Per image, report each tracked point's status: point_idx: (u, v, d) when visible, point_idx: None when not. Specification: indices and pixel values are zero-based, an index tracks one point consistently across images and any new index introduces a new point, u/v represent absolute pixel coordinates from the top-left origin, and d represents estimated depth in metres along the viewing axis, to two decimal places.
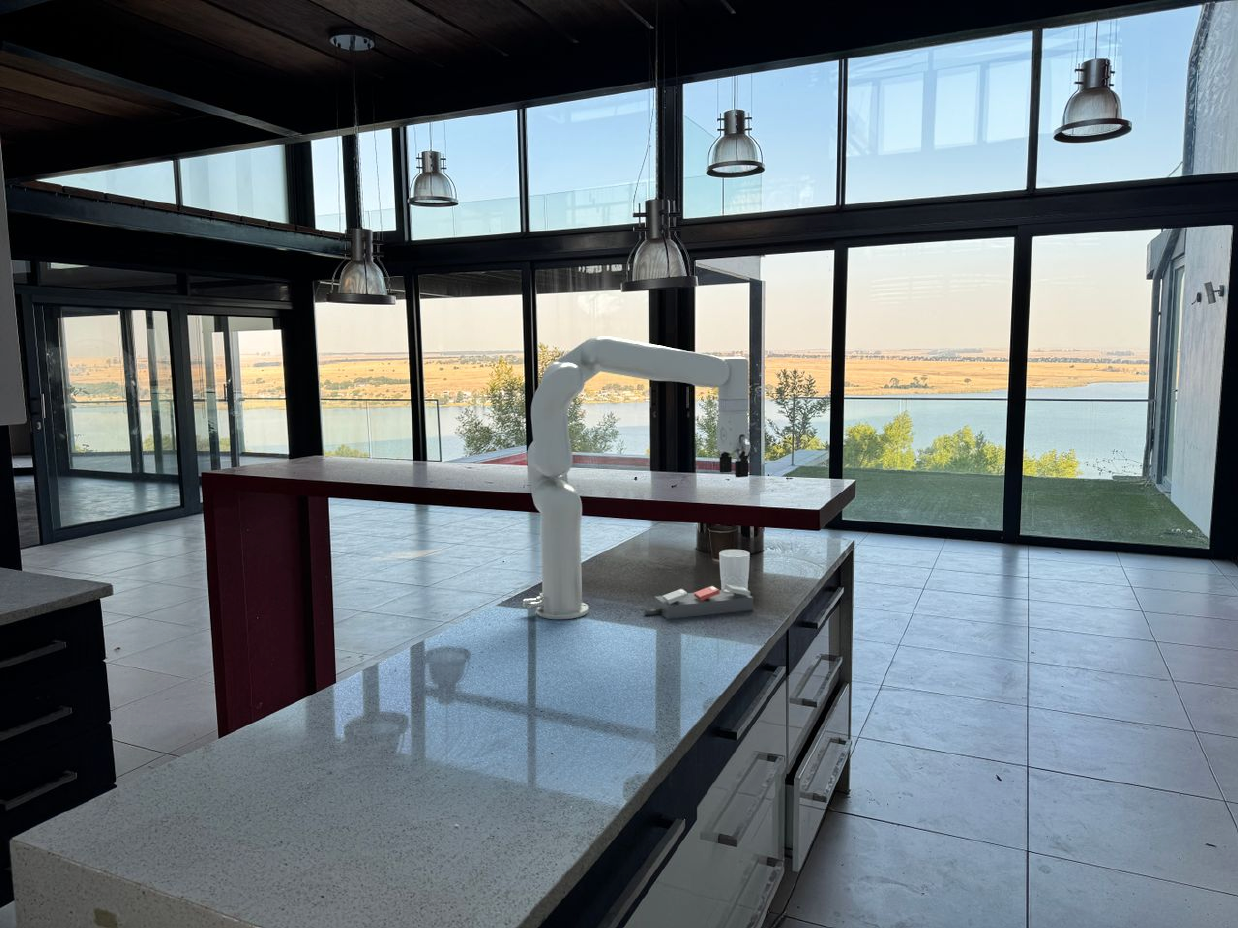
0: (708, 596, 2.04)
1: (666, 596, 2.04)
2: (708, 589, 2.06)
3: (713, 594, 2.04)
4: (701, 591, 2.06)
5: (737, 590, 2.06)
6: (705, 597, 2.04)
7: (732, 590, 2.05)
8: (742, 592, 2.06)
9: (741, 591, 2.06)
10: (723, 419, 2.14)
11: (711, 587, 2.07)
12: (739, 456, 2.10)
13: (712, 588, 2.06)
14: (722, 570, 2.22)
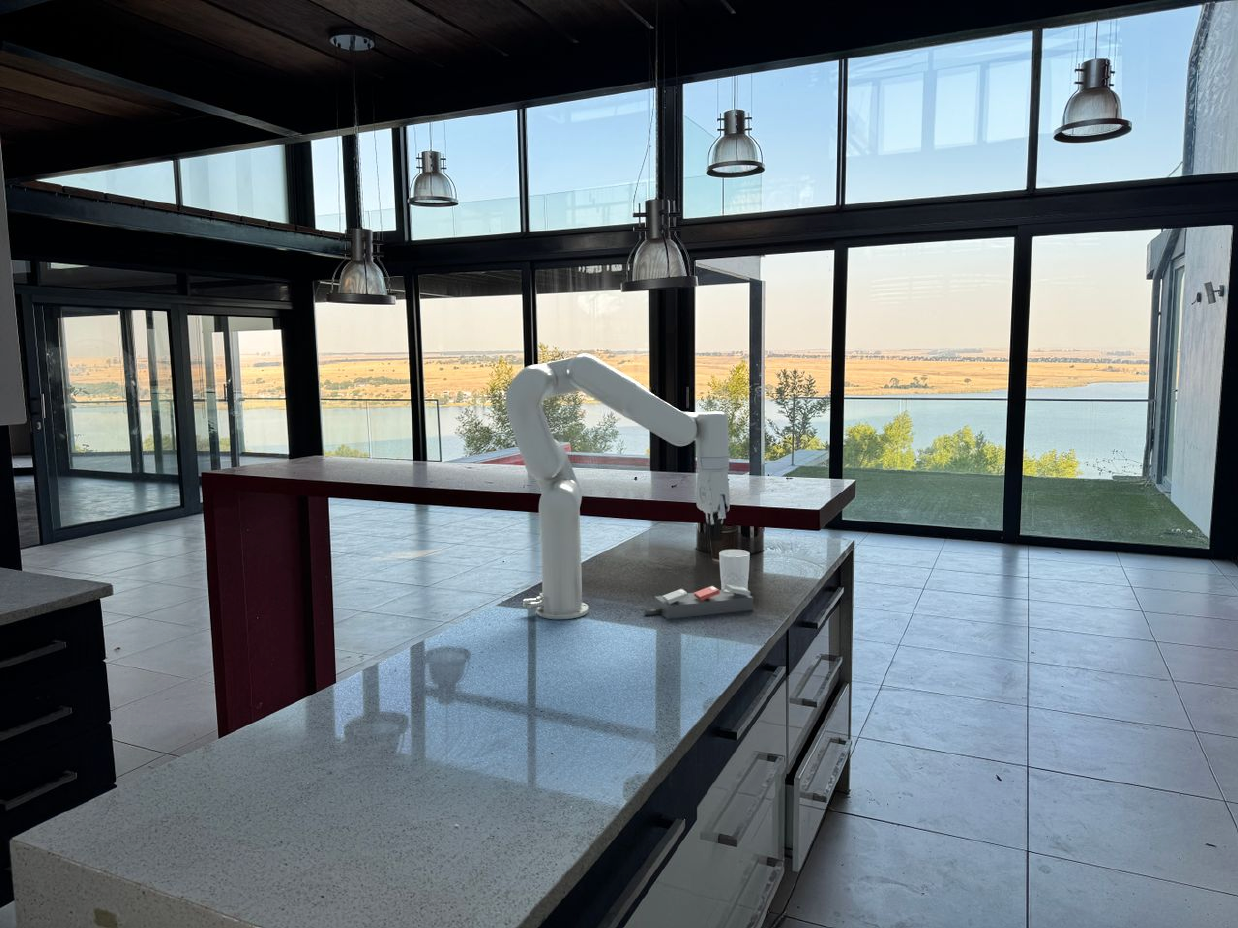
0: (708, 596, 2.04)
1: (666, 596, 2.04)
2: (708, 589, 2.06)
3: (713, 594, 2.04)
4: (701, 591, 2.06)
5: (737, 590, 2.06)
6: (705, 597, 2.04)
7: (732, 590, 2.05)
8: (742, 592, 2.06)
9: (741, 591, 2.06)
10: (702, 477, 2.02)
11: (711, 587, 2.07)
12: (713, 521, 2.02)
13: (712, 588, 2.06)
14: (722, 570, 2.22)
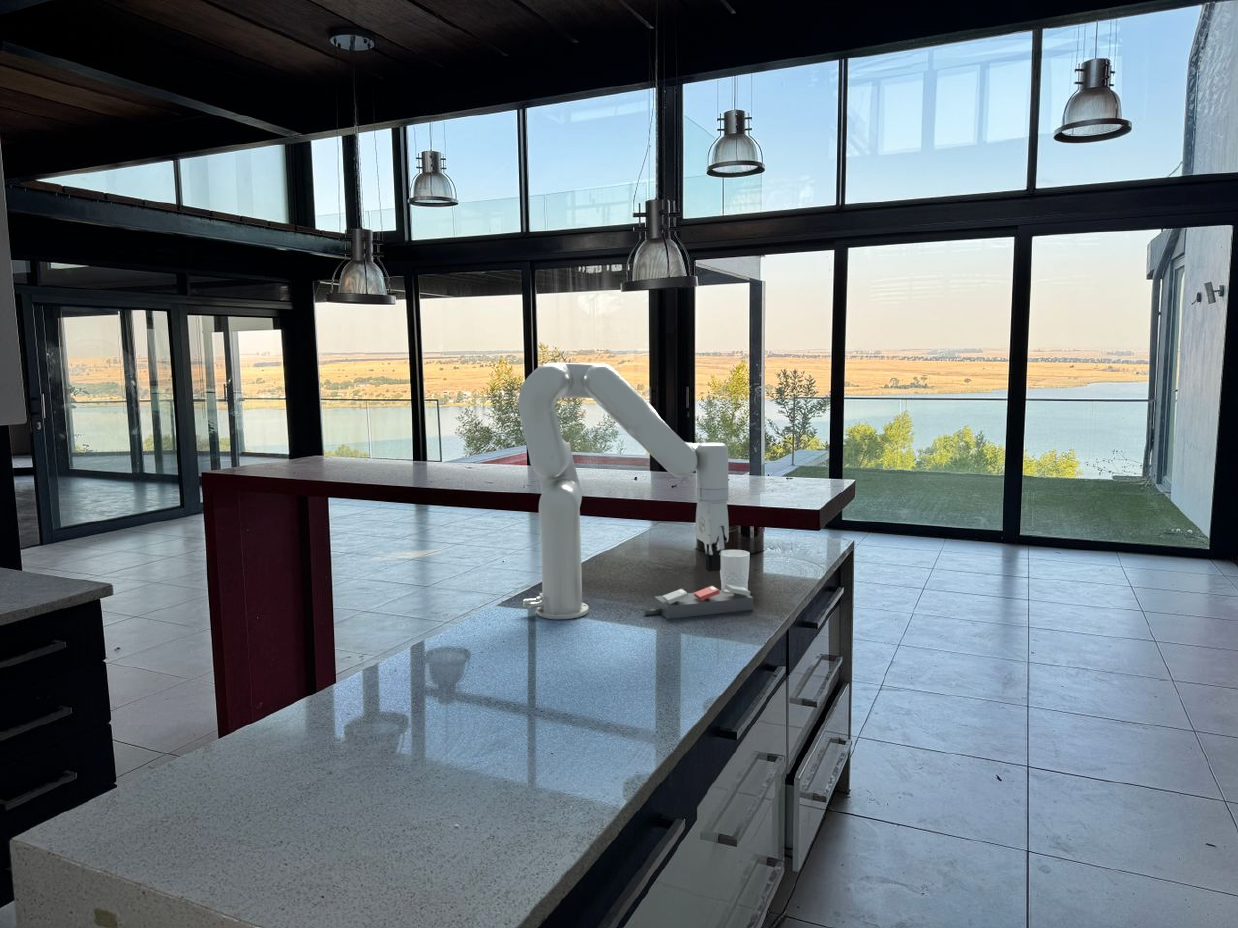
0: (708, 596, 2.04)
1: (666, 596, 2.04)
2: (708, 589, 2.06)
3: (713, 594, 2.04)
4: (701, 591, 2.06)
5: (737, 590, 2.06)
6: (705, 597, 2.04)
7: (732, 590, 2.05)
8: (742, 592, 2.06)
9: (741, 591, 2.06)
10: (701, 508, 2.03)
11: (711, 587, 2.07)
12: (712, 552, 2.03)
13: (712, 588, 2.06)
14: (722, 570, 2.22)
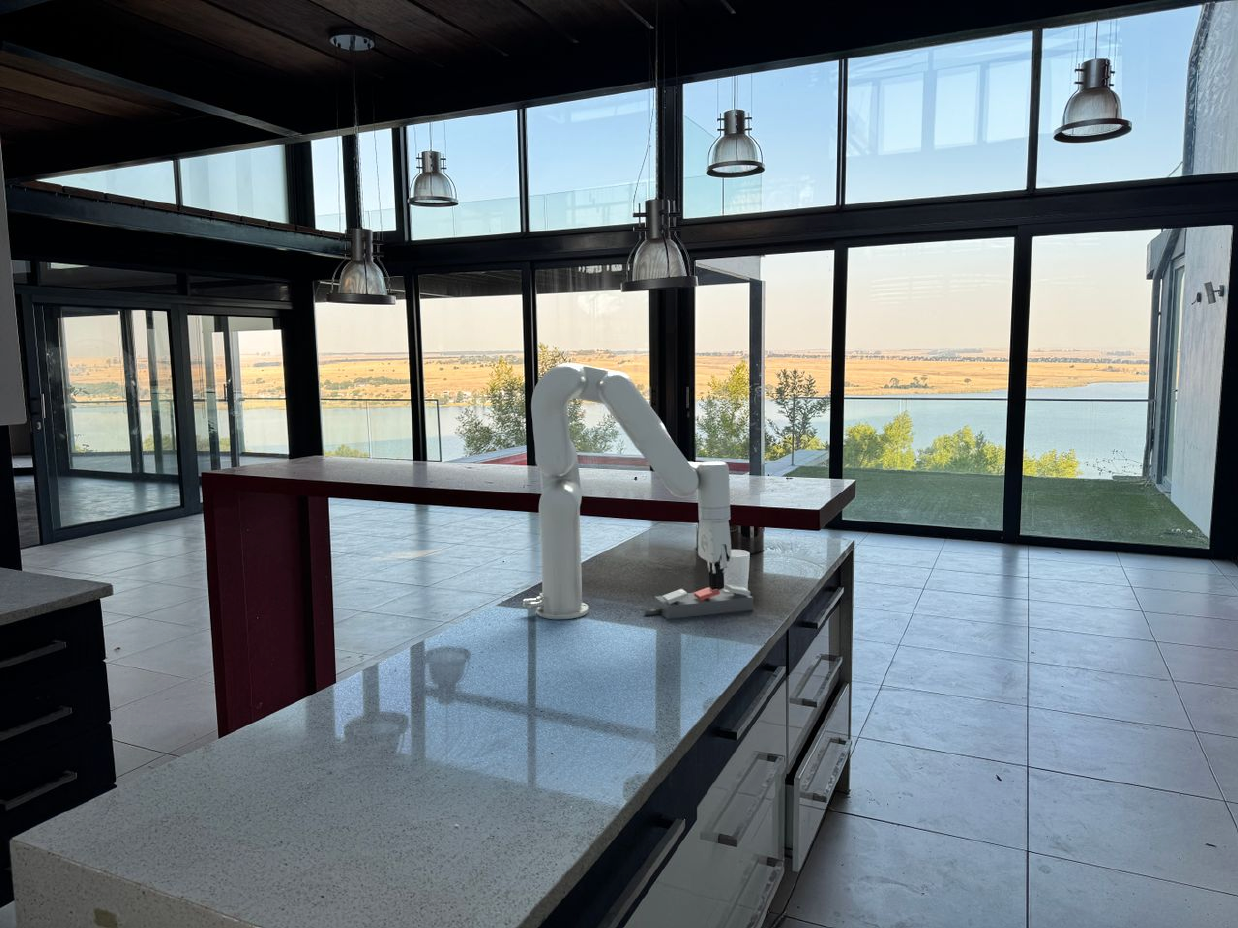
0: (708, 596, 2.04)
1: (666, 596, 2.04)
2: (708, 589, 2.06)
3: (713, 594, 2.04)
4: (701, 591, 2.06)
5: (737, 590, 2.06)
6: (705, 597, 2.04)
7: (732, 590, 2.05)
8: (742, 592, 2.06)
9: (741, 591, 2.06)
10: (703, 527, 2.04)
11: None
12: (715, 571, 2.04)
13: None
14: None
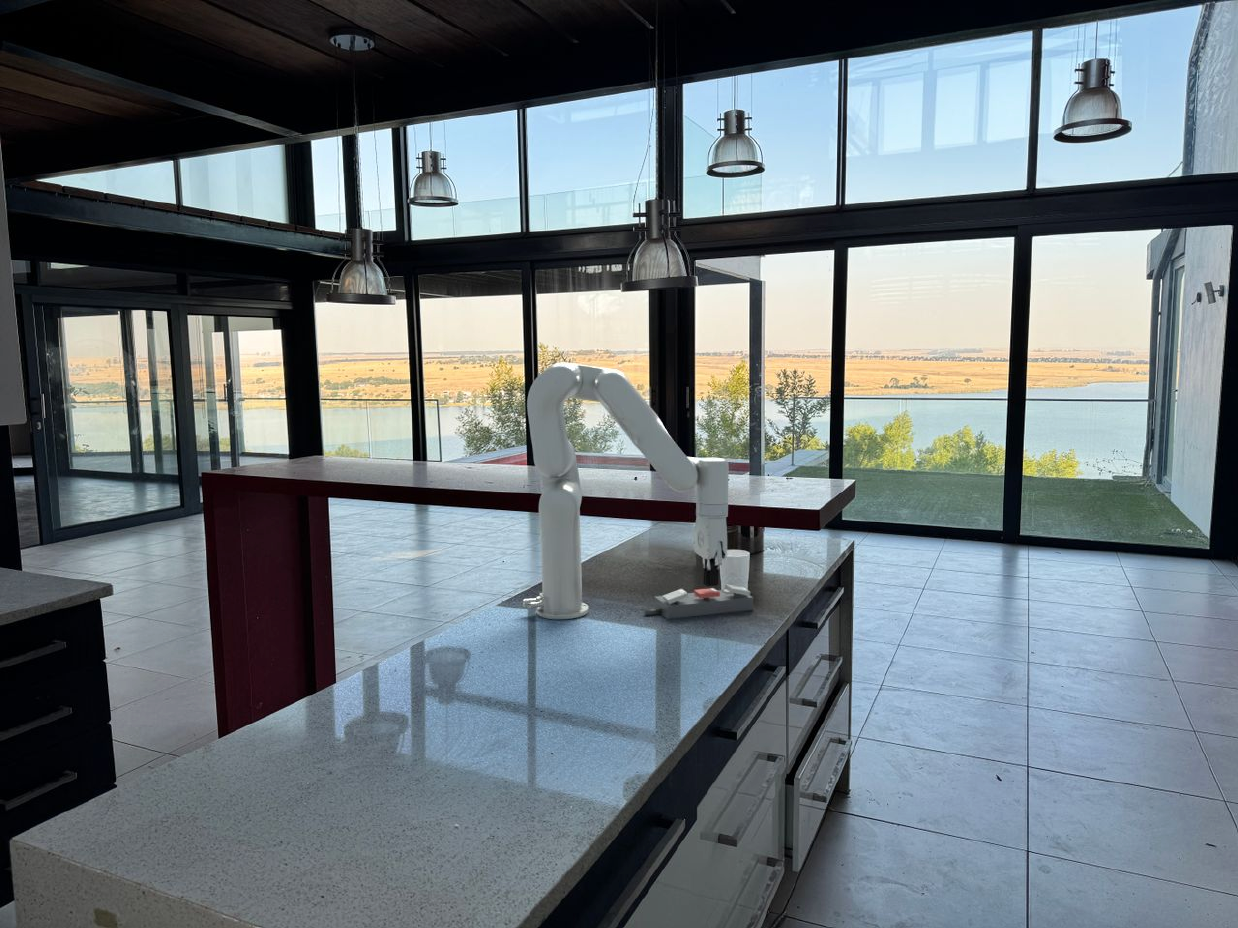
0: (708, 596, 2.04)
1: (666, 596, 2.04)
2: (709, 590, 2.06)
3: (713, 595, 2.04)
4: (701, 590, 2.06)
5: (737, 590, 2.06)
6: (705, 596, 2.03)
7: (732, 590, 2.05)
8: (742, 592, 2.06)
9: (741, 591, 2.06)
10: (700, 523, 2.03)
11: (712, 589, 2.07)
12: (710, 567, 2.03)
13: (713, 590, 2.06)
14: (722, 570, 2.22)
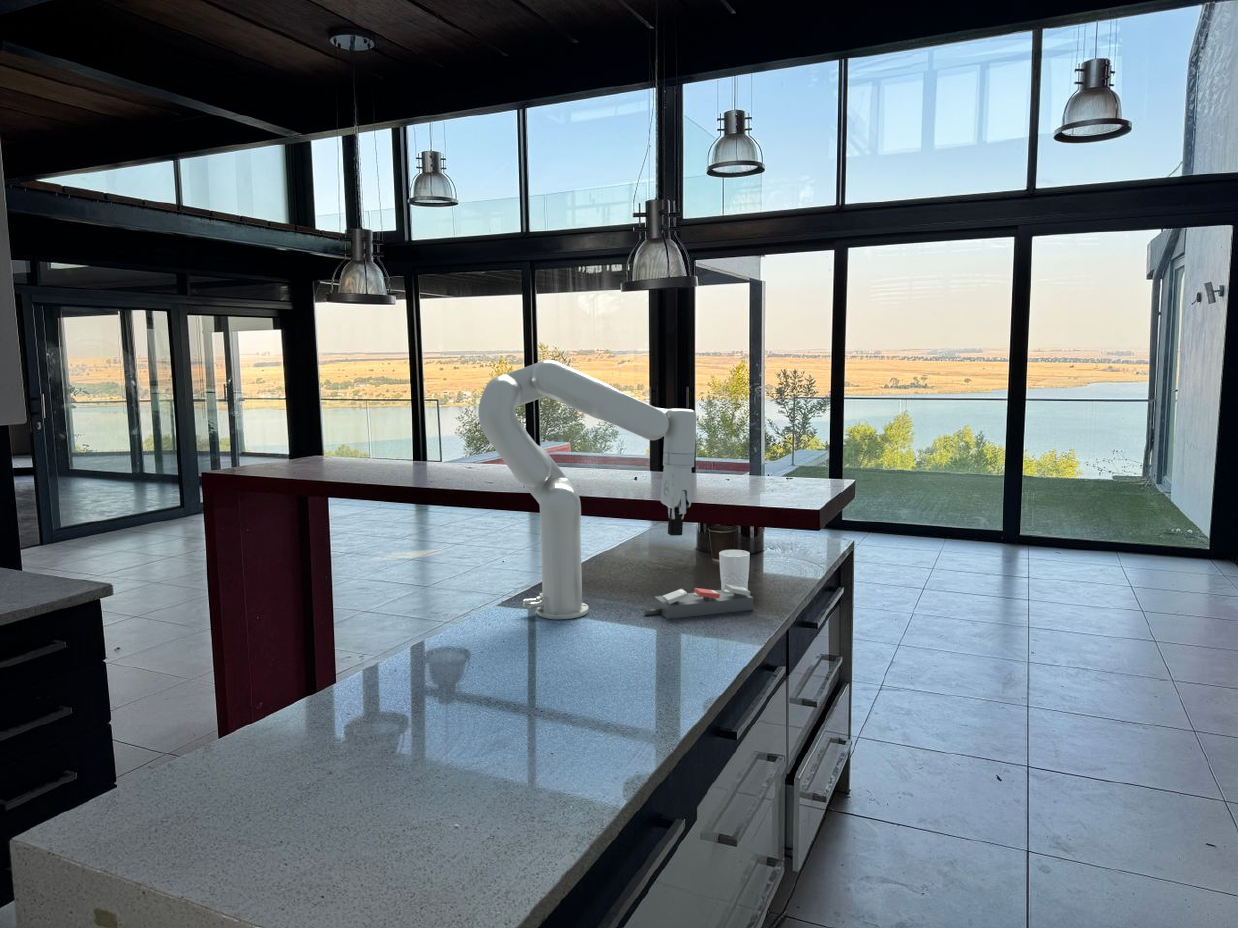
0: (708, 595, 2.04)
1: (666, 596, 2.04)
2: (709, 590, 2.06)
3: (713, 596, 2.04)
4: (702, 589, 2.06)
5: (737, 590, 2.06)
6: (705, 595, 2.03)
7: (732, 590, 2.05)
8: (742, 592, 2.06)
9: (741, 591, 2.06)
10: (667, 472, 2.06)
11: (712, 590, 2.07)
12: (674, 516, 2.06)
13: (713, 591, 2.06)
14: (722, 570, 2.22)
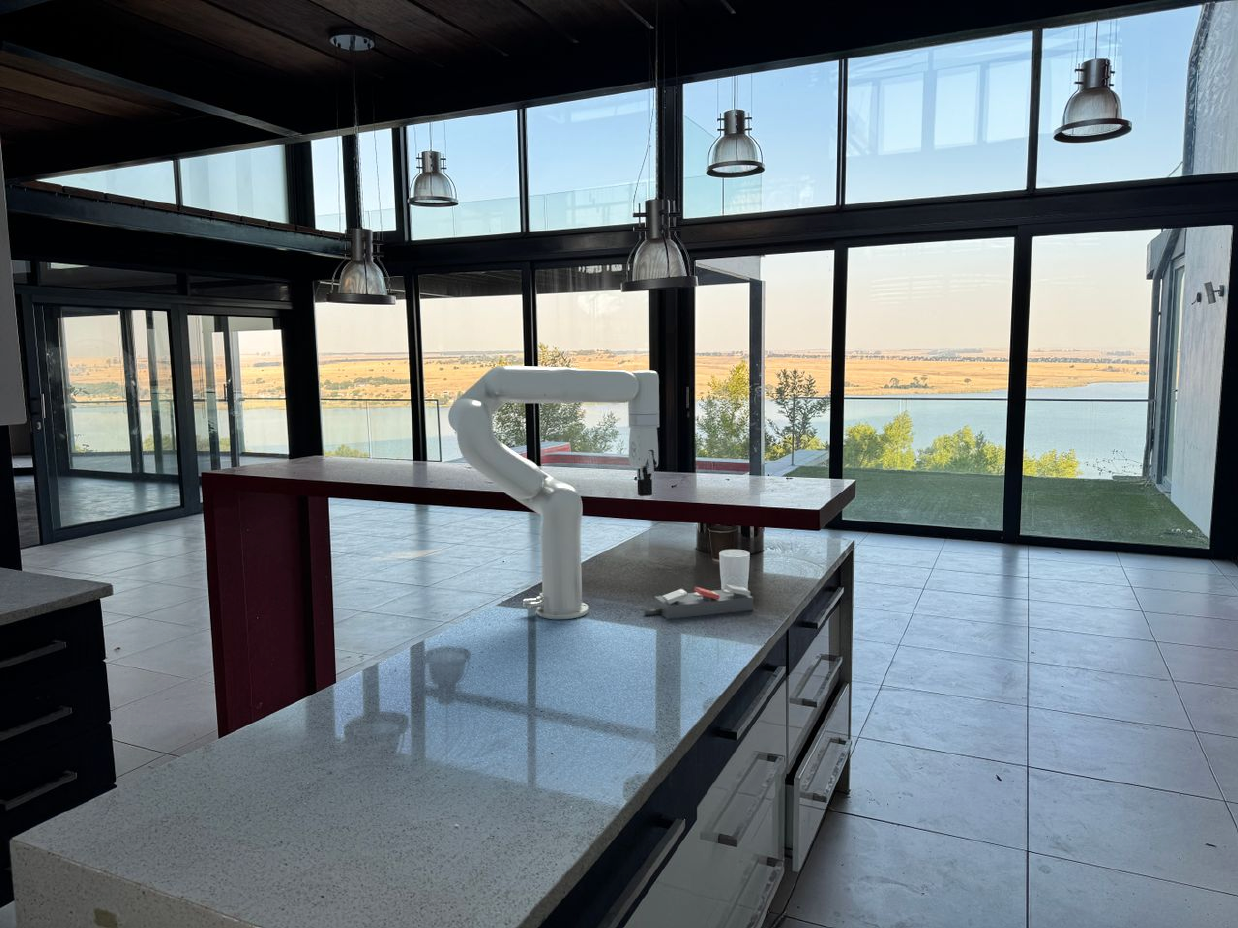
0: (708, 595, 2.04)
1: (666, 596, 2.04)
2: (709, 591, 2.06)
3: (713, 596, 2.04)
4: (702, 589, 2.06)
5: (737, 590, 2.06)
6: (705, 594, 2.03)
7: (732, 590, 2.05)
8: (742, 592, 2.06)
9: (741, 591, 2.06)
10: (633, 434, 2.10)
11: (712, 591, 2.07)
12: (642, 477, 2.10)
13: (713, 592, 2.06)
14: (722, 570, 2.22)
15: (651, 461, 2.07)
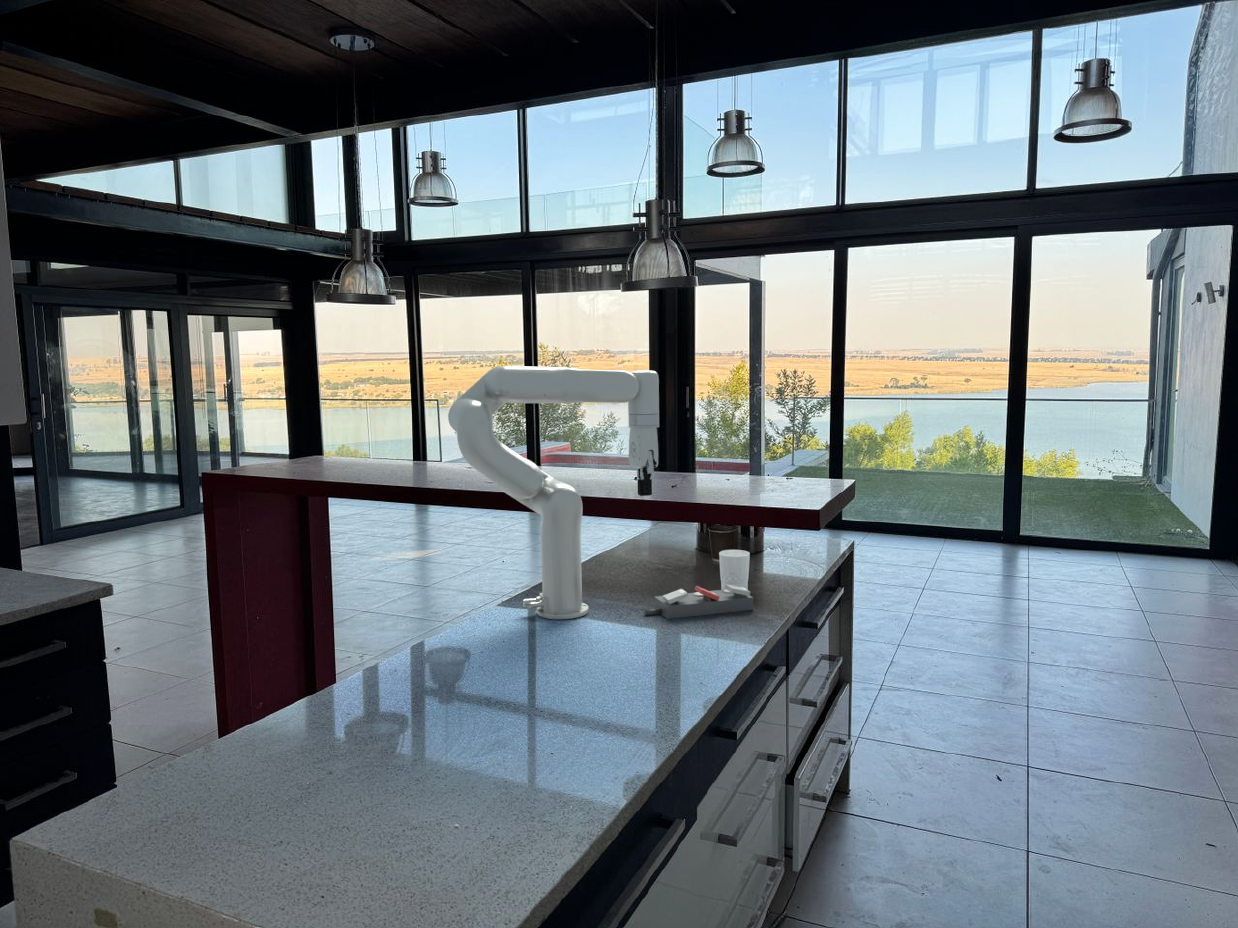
0: (708, 595, 2.04)
1: (666, 596, 2.04)
2: (709, 591, 2.06)
3: (712, 597, 2.04)
4: (702, 588, 2.06)
5: (737, 590, 2.06)
6: (705, 593, 2.03)
7: (732, 590, 2.05)
8: (742, 592, 2.06)
9: (741, 591, 2.06)
10: (633, 434, 2.10)
11: (712, 592, 2.07)
12: (642, 477, 2.10)
13: (713, 593, 2.06)
14: (722, 570, 2.22)
15: (651, 461, 2.07)
